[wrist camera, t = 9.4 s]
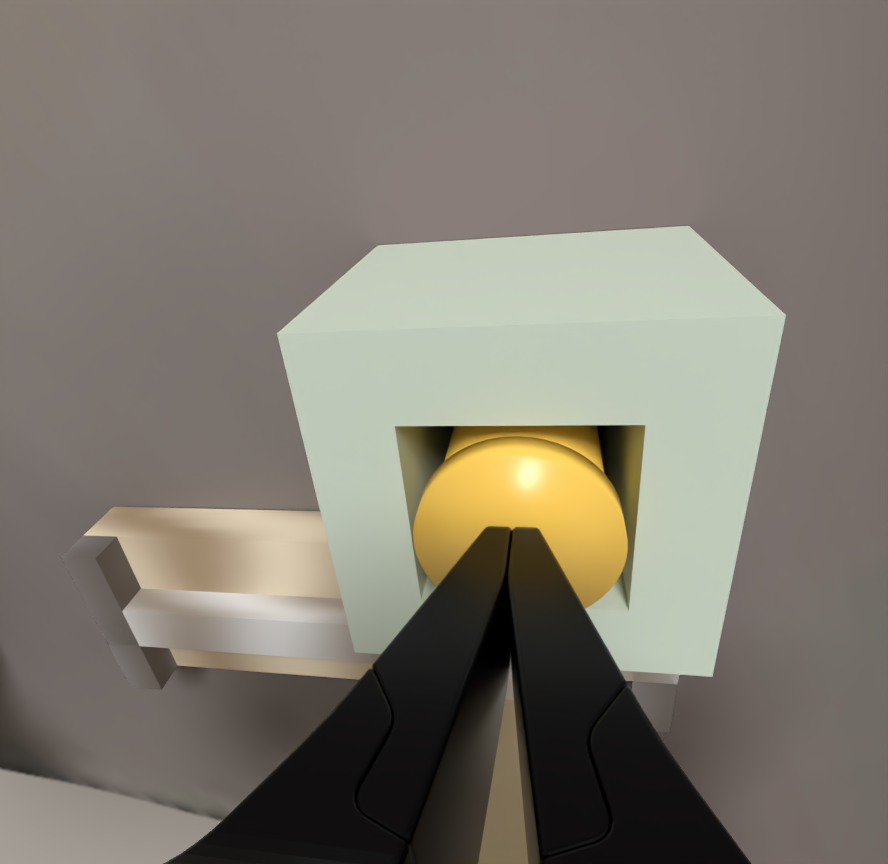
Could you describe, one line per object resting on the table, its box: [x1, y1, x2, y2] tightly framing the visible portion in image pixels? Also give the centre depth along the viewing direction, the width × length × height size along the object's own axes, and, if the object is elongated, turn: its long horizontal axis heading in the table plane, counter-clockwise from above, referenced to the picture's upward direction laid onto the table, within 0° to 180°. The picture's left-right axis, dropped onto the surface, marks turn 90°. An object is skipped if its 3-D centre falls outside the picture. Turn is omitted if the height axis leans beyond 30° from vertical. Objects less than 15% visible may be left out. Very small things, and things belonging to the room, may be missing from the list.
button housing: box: [277, 226, 786, 677], centre depth 12 cm, size 7×7×6 cm
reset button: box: [413, 425, 628, 608], centre depth 12 cm, size 3×3×5 cm
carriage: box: [478, 663, 528, 864], centre depth 13 cm, size 5×6×8 cm
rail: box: [61, 507, 679, 733], centre depth 18 cm, size 18×6×2 cm, turn 95°
